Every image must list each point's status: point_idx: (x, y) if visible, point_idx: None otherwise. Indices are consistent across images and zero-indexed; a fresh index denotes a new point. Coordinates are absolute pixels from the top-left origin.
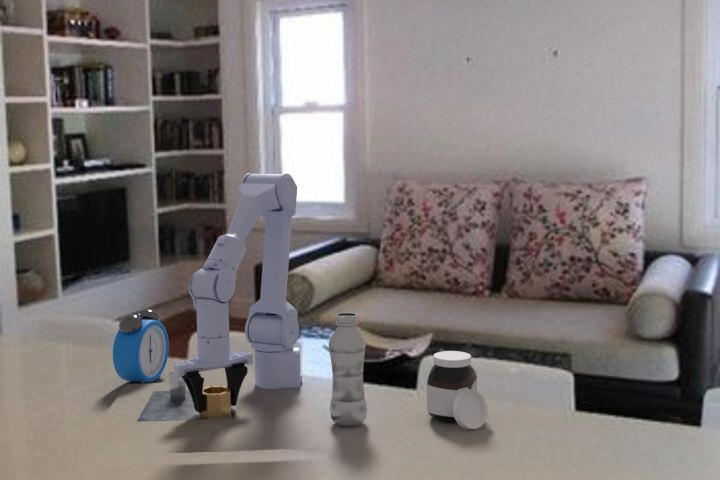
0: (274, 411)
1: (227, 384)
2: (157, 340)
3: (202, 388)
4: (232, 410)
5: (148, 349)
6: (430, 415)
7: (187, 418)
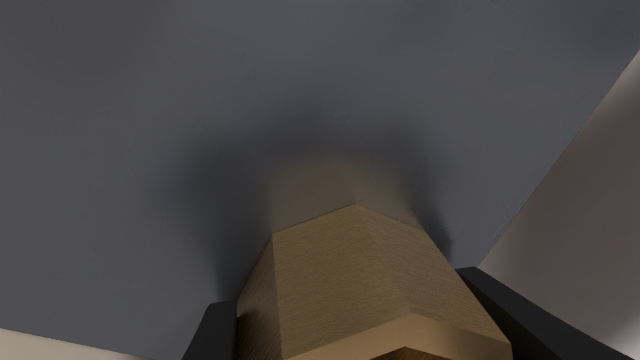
0: (611, 267)
1: (551, 354)
2: None
3: None
4: None
5: None
6: None
7: (143, 343)
